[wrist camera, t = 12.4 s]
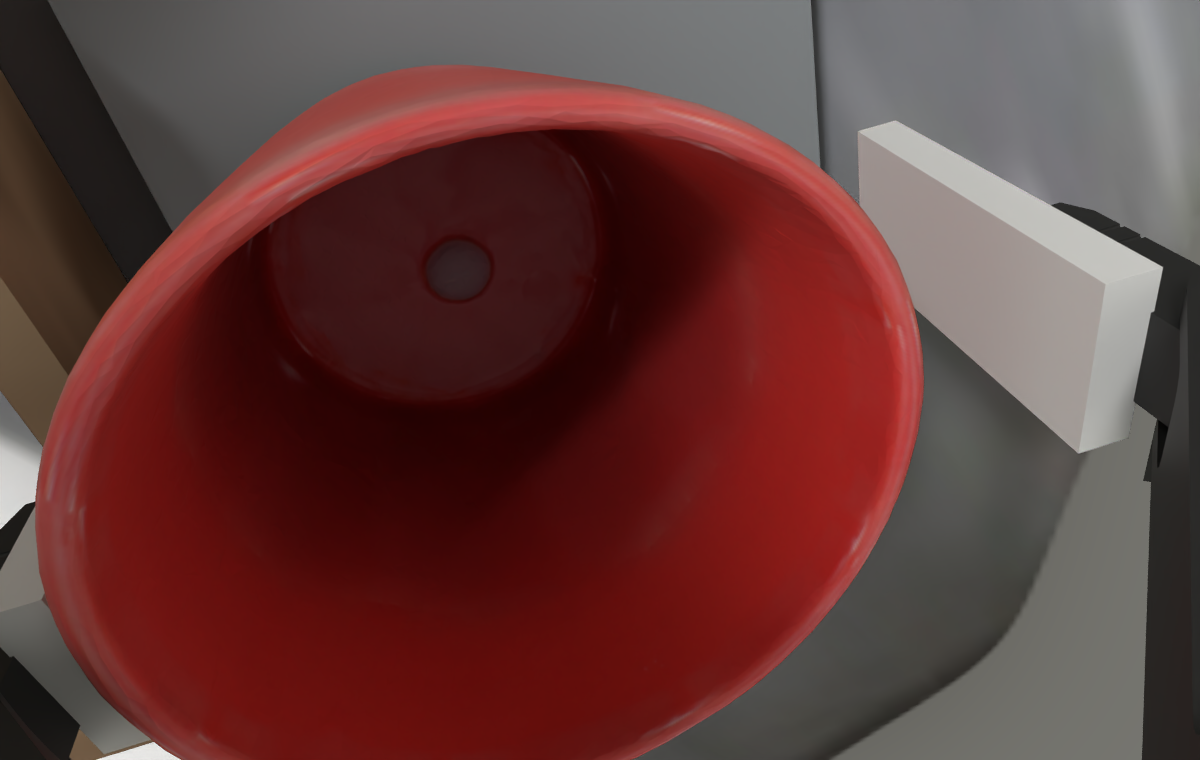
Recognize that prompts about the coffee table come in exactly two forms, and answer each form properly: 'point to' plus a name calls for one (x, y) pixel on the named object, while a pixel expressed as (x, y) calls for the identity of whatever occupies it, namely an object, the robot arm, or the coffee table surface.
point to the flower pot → (478, 430)
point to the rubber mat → (413, 64)
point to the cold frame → (45, 285)
